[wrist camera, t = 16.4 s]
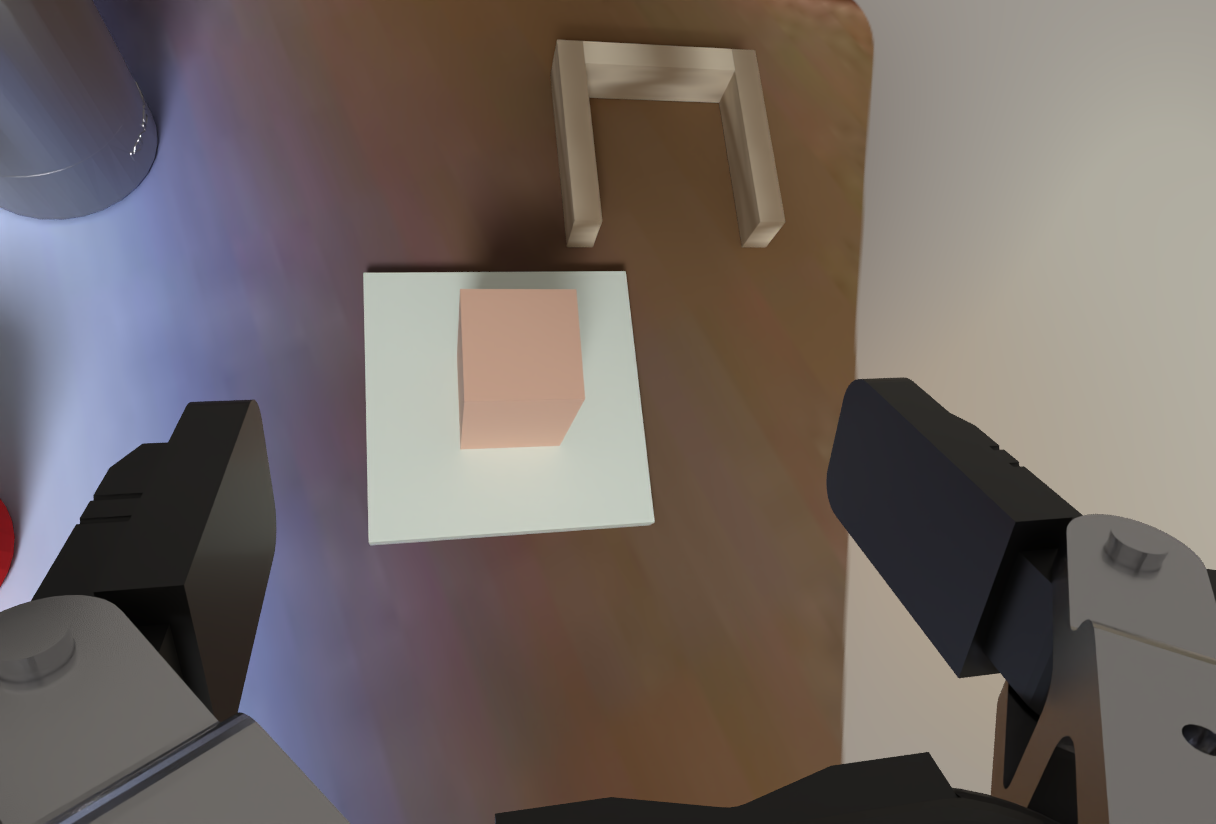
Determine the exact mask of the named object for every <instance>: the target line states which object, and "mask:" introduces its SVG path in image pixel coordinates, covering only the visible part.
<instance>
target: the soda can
mask: <svg viewBox="0 0 1216 824" xmlns="http://www.w3.org/2000/svg"><path fill="white" fill-rule="evenodd" d="M14 539H15V536H14V530H13V524H12V520H11V517H10V515H9V513H8V510H7V508H6V506H5V505H4V503H3V502H2V501H1V499H0V586H1V584H2V582H3V581H4V579H5V577H6V575H7V573H8V571H9V567H10V564H11V561H12V557H13V553H14Z"/></svg>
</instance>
